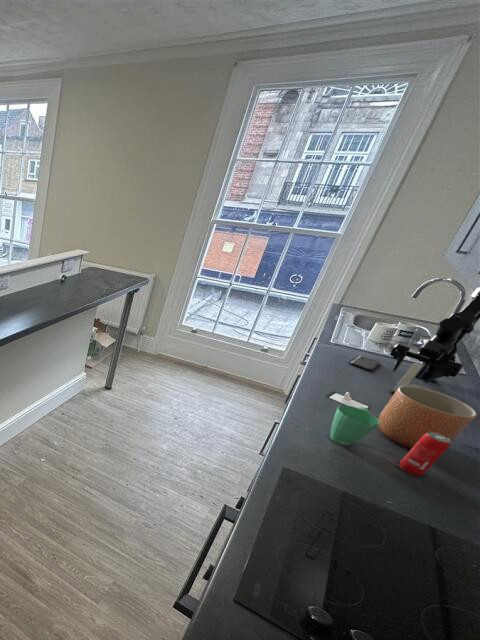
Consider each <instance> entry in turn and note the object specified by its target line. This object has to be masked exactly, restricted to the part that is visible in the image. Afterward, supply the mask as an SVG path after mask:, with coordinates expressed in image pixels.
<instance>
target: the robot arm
mask: <svg viewBox="0 0 480 640" xmlns="http://www.w3.org/2000/svg"><path fill="white" fill-rule="evenodd" d="M470 297H471V300H470V302H468V304H467V305H465V307H463V309H462V310H460V311H457V312H453V313H452V314H451V315H450V316H449V317H448V318H447V317H446V318H444V319H442V320H440V321H439V322H438V325H437V329H436V331H435V333H434V336H433V337H432V338H431V339H427V340H426V341H425V342H424V343H423V344H422V346H421V347H420V348H419V349H418V352H417V353H416V352H414V351H411V346H407V345H404V344H401V343H397V344H395V345H394V346H393V347H392V349H391V352H390V354H389V355H390V356H391V357H392V359H394V360H395V364H394V367H393V370H392V372H396V371H397V370H398V368H399V367H400V365H401V364H402V363H403V361H404V359H405V358H406V357H409V358H412V359H414V360H418V362H422V363H421V365H424V366H423V367H422V368H421V370H420V371H419V372H418V374H417V375H416V376H415V377H414V378H418V379H420V380H421V379H422V380H425V381H424V384H428V383H429V382H432V383H433V382H434V383H436V382H437V379H440V378H444V377H445V378H449V377H452V378H455V377H457V376H458V375H459V373H460V372H461V371H462V369H463V367H464V364H463V363H461V362H457V360H456V358H457V356H456V355H457V352H458V345H459V344H460V342H461V341H462V340H463V339H464V338H465V337H466V335H469V334H471V333H473V332H474V331H475V325H476V324H478V322H479V321H480V287H476V289H475V290H474V291H473V292H472V294H471V295H470Z"/></svg>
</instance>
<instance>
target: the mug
mask: <svg viewBox="0 0 480 640" xmlns="http://www.w3.org/2000/svg"><path fill="white" fill-rule="evenodd" d="M332 419H333V420H332V423H331V428H330V434H329V437H330V439H331V441H333V442H334V443H336V444H338V445H341V446H345V447H348V446H350V445H352V444H354V443H356V442H358V441H360V440H361V439H362V438H364V437H365V436H367V435H369V434H371V432H373V430H375V429H376V428H377V427H379V426H378V425H379V424H380V421H379V417H377V416H375V414H372V413H371V412H370V409H368V408H364V407H360V408H356V407H352V406H347V405H345V404H342V405H339V406H338V407H337V409H336V411H335V412H334V416H333V418H332ZM340 441H341V442H340ZM342 442H344V443H342ZM345 443H349V444H345Z"/></svg>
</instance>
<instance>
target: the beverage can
mask: <svg viewBox="0 0 480 640" xmlns="http://www.w3.org/2000/svg"><path fill="white" fill-rule="evenodd" d="M451 443H452V441H450V440H449V439H448V438H447V437H445V436H443V435H440V434H438V433H434V432H427V433H426V434H424V435H423V436H422V437H421V438H420V440H419V441H418V442H417V443H416V444H415V445H414V447H413V448H412V449H411V448H410V450H409V451H408V452H407V454H406V455H405V456H404V457H403V458H402V459H401V460H400V461H399V462H400V463H399V468H400V469H401V470H402V471H404V472H406V473H408V474H410V475H413V476H421V475H424V474H426V472H427V471H428V470H429V469H430V468H431V467H432V466H433V464H434V463H435V462H436V461H437V460H438V459H439V458H440V457H441V456H442V455H443V454H444V452H446V450H447V449H448V448H449V447H450V446H451Z"/></svg>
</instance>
